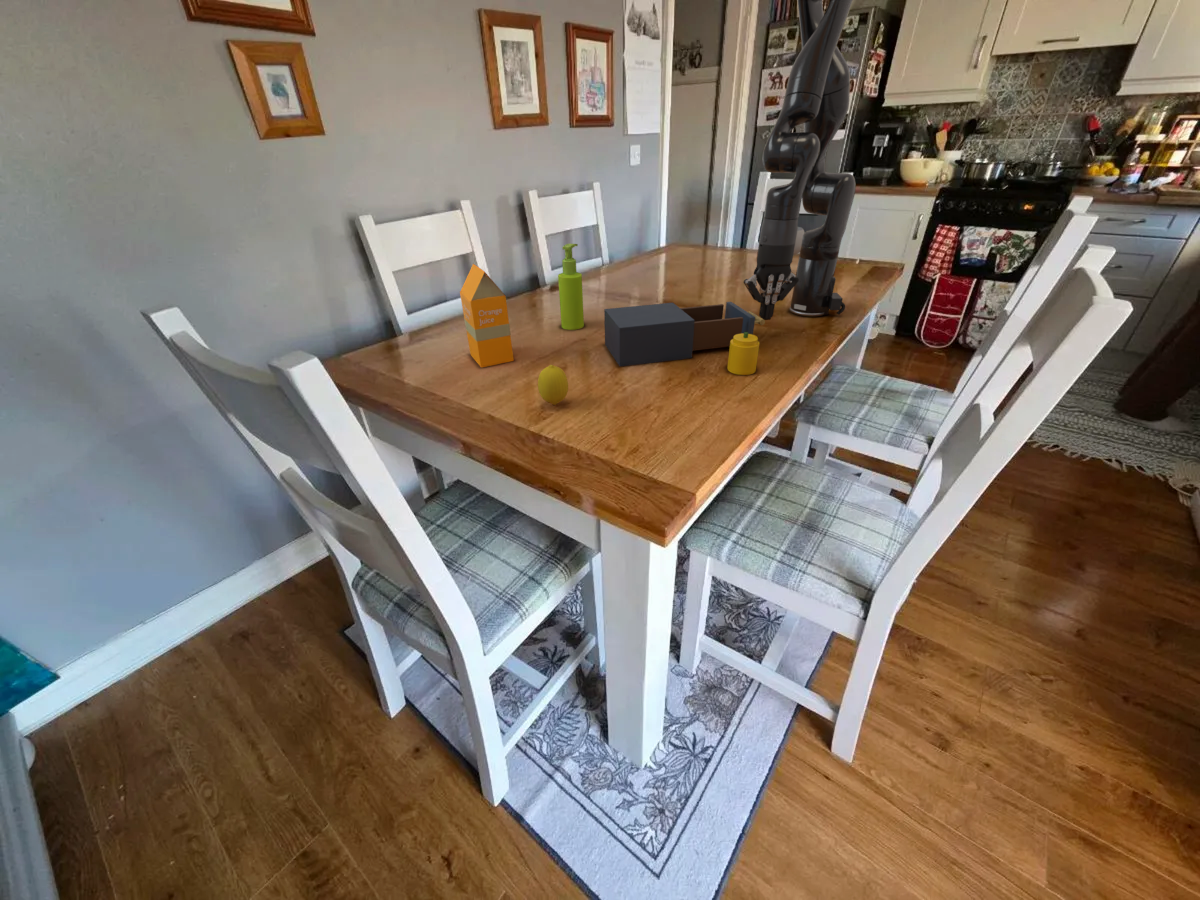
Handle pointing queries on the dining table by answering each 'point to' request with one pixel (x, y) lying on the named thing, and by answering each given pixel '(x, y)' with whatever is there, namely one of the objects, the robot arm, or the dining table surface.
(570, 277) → the soap dispenser
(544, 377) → the lemon
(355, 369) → the dining table surface
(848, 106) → the robot arm
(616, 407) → the dining table surface
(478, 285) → the orange juice
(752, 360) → the yellow cylinder
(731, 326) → the drawer
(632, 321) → the cabinet
